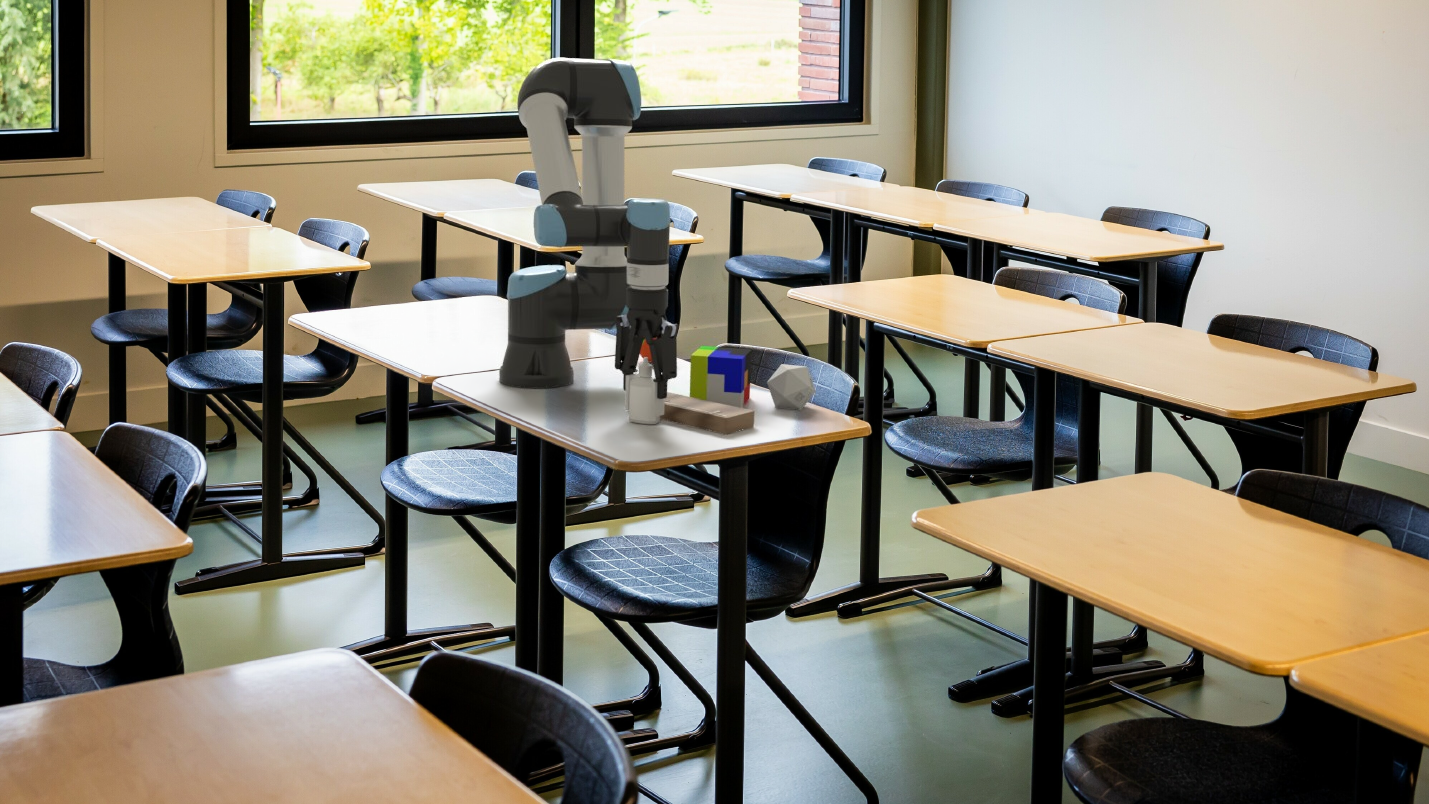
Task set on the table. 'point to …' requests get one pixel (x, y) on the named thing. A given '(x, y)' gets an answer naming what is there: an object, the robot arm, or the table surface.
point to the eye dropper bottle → (642, 396)
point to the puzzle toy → (721, 375)
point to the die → (791, 386)
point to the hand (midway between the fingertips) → (644, 412)
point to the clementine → (646, 350)
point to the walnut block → (706, 414)
